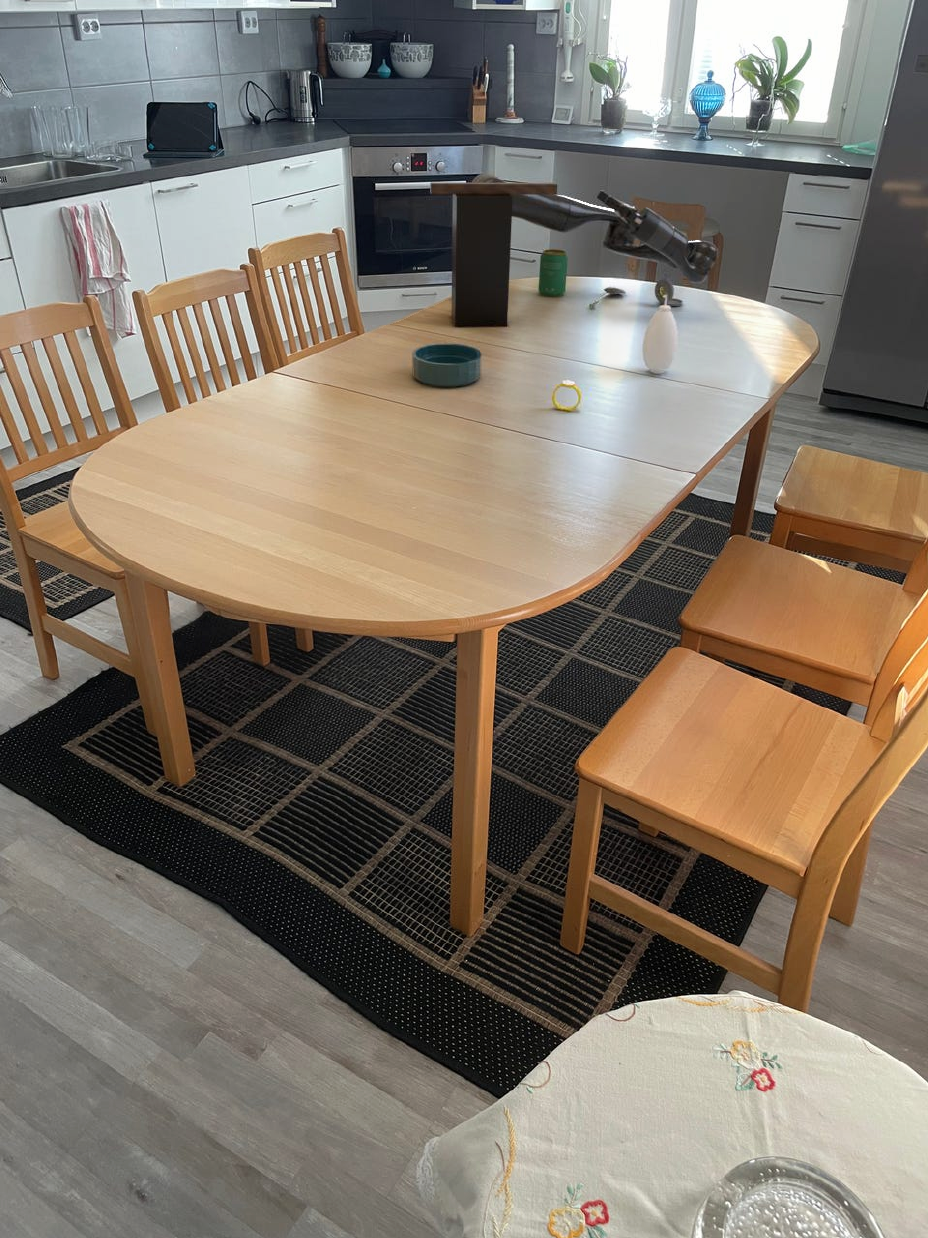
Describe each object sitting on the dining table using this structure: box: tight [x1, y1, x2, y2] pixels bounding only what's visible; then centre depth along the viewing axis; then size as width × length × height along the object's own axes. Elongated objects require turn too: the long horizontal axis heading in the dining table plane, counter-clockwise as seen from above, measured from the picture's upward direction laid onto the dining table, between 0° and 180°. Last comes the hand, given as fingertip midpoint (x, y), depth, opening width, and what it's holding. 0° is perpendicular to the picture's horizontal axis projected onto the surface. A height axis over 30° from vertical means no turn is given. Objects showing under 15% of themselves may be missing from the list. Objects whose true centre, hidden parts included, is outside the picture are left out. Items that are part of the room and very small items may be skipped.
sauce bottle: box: [641, 293, 679, 375], centre depth 216 cm, size 8×8×18 cm
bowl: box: [411, 343, 483, 388], centre depth 214 cm, size 16×16×6 cm
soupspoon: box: [588, 286, 627, 310], centre depth 275 cm, size 22×3×7 cm
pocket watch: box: [654, 269, 683, 307], centre depth 271 cm, size 8×8×10 cm
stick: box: [429, 181, 558, 195], centre depth 237 cm, size 32×2×2 cm, turn 96°
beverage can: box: [538, 248, 569, 298], centre depth 278 cm, size 8×8×12 cm
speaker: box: [450, 194, 513, 328], centre depth 246 cm, size 14×10×32 cm
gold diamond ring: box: [551, 379, 582, 412], centre depth 198 cm, size 6×3×6 cm, turn 75°
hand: (602, 196), depth 241 cm, fingers open, 8 cm apart
